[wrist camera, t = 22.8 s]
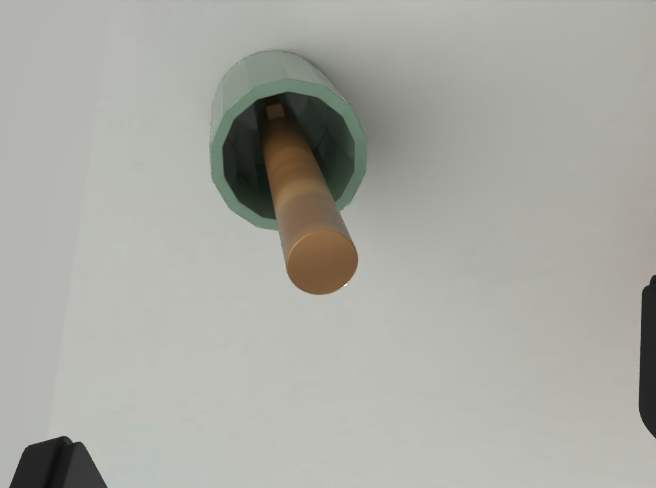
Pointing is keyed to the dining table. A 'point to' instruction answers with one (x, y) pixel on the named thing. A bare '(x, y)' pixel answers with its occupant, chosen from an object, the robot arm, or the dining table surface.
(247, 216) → the crock
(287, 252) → the wooden dowel rod
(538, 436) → the dining table surface
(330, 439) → the dining table surface
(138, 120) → the dining table surface
